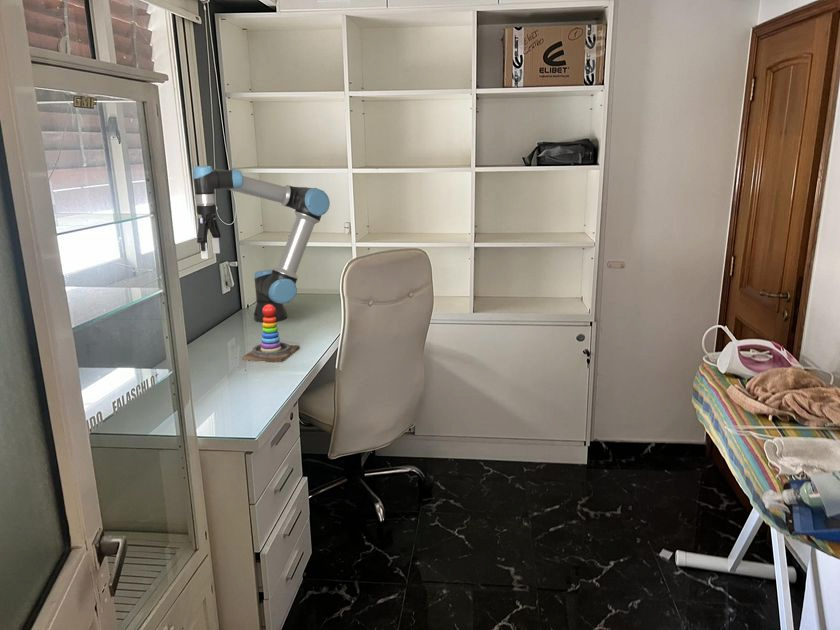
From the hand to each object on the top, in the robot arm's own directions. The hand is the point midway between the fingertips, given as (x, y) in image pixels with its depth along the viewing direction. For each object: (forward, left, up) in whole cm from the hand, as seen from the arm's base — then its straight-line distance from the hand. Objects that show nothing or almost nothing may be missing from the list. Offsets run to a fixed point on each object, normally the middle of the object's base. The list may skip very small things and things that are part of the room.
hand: (211, 255), depth 268 cm
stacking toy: (+20, +34, -34) cm, 52 cm away
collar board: (+20, +34, -35) cm, 53 cm away
